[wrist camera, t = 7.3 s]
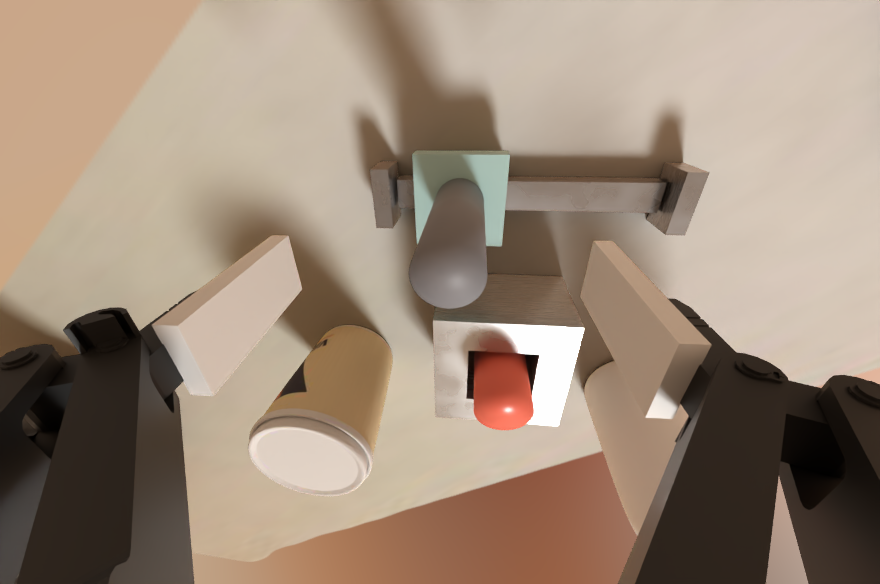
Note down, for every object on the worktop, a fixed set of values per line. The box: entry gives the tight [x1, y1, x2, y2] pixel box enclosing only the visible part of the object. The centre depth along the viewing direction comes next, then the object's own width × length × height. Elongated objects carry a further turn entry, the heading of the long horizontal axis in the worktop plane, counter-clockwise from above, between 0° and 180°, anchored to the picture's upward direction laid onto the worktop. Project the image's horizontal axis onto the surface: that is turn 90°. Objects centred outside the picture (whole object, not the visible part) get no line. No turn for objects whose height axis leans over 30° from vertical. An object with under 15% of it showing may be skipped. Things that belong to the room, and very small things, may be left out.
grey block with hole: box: [433, 274, 584, 426], centre depth 28 cm, size 10×10×7 cm
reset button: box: [474, 351, 534, 430], centre depth 25 cm, size 4×4×6 cm
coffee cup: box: [248, 325, 393, 496], centre depth 30 cm, size 9×9×12 cm
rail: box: [370, 161, 709, 235], centre depth 23 cm, size 21×4×3 cm, turn 91°
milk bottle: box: [584, 361, 767, 584], centre depth 25 cm, size 8×8×20 cm
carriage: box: [409, 150, 510, 309], centre depth 19 cm, size 6×6×13 cm
